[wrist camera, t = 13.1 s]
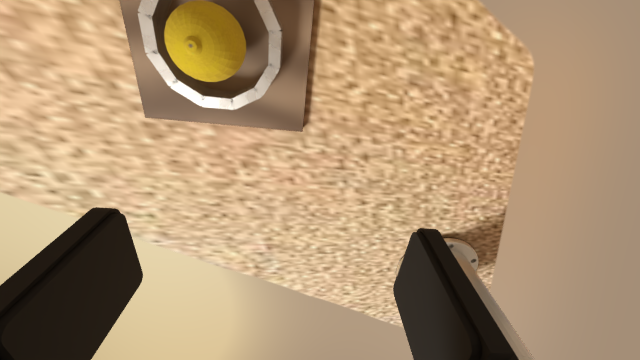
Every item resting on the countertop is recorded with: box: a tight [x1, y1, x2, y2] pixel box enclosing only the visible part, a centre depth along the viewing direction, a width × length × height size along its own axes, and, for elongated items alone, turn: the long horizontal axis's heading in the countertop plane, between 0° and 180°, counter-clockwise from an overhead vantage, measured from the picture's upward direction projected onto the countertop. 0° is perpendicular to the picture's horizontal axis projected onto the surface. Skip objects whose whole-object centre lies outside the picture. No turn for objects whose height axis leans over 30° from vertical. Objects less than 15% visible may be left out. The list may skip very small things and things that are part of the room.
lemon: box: [164, 0, 246, 82], centre depth 21 cm, size 6×6×8 cm
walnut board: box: [119, 0, 314, 132], centre depth 25 cm, size 16×16×1 cm
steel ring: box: [138, 0, 283, 110], centre depth 23 cm, size 11×11×2 cm
